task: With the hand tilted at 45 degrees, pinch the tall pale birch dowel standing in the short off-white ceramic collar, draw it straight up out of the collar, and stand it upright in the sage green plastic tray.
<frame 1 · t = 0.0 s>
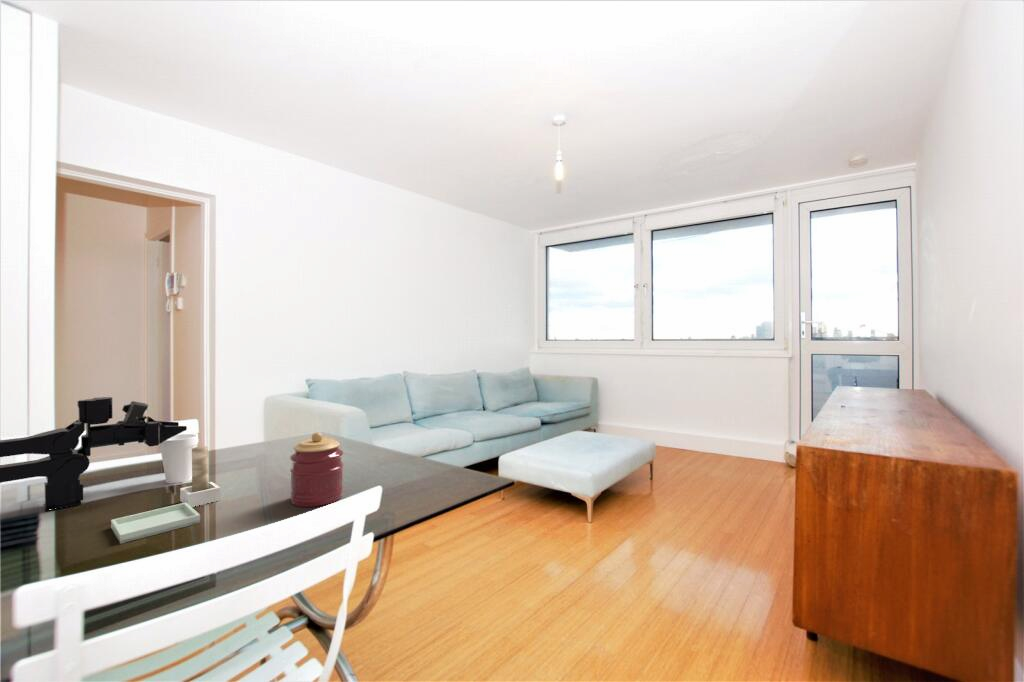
hand: (182, 425, 133), 17 cm above the table, tool horizontal, fingers open, 9 cm apart
tray: (156, 525, 102), on the table
foam cup: (179, 480, 134), on the table
canister: (317, 499, 118), on the table
collar: (200, 501, 117), on the table
dowel: (200, 474, 117), in the collar
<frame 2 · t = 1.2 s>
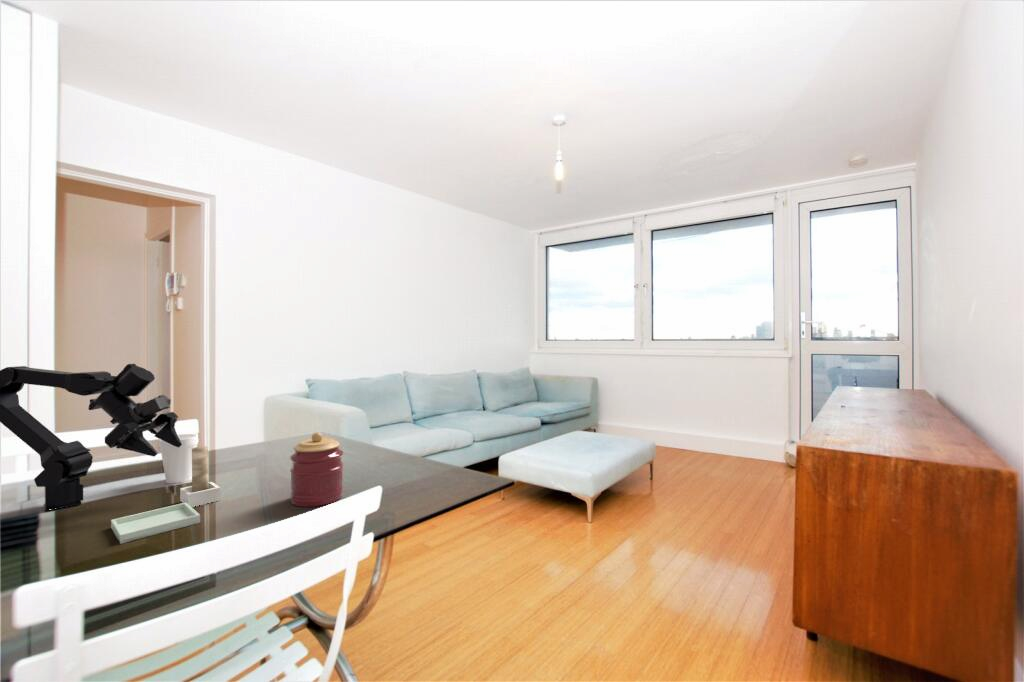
hand: (168, 450, 116), 14 cm above the table, tool tilted 45°, fingers open, 9 cm apart
nothing on the table moved.
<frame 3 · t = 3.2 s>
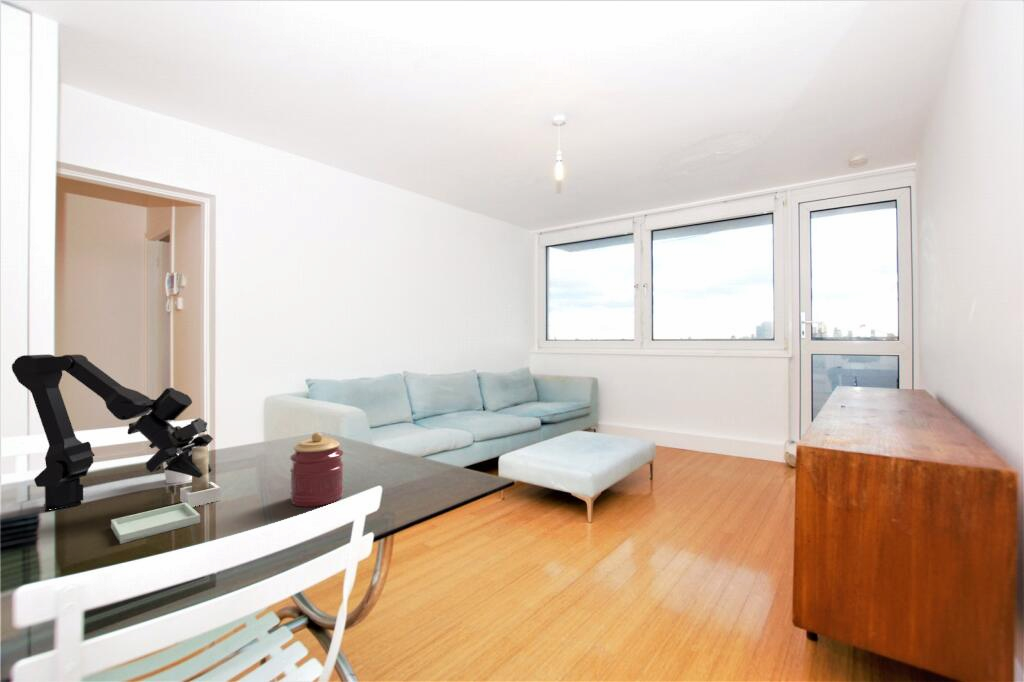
hand: (205, 474, 117), 7 cm above the table, tool tilted 45°, fingers closed on dowel, 3 cm apart
dowel: (200, 474, 117), in the collar, touching gripper
everything else where it was.
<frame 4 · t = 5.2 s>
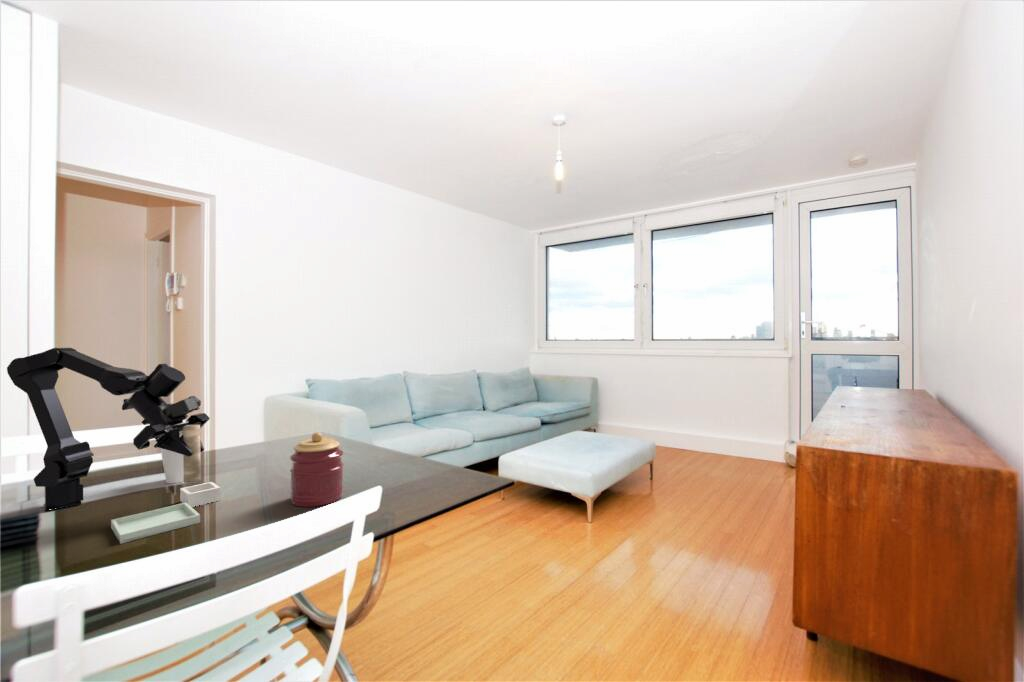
hand: (197, 453, 113), 14 cm above the table, tool tilted 45°, fingers closed on dowel, 3 cm apart
dowel: (191, 453, 113), point 14 cm above the table, touching gripper
everything else where it was.
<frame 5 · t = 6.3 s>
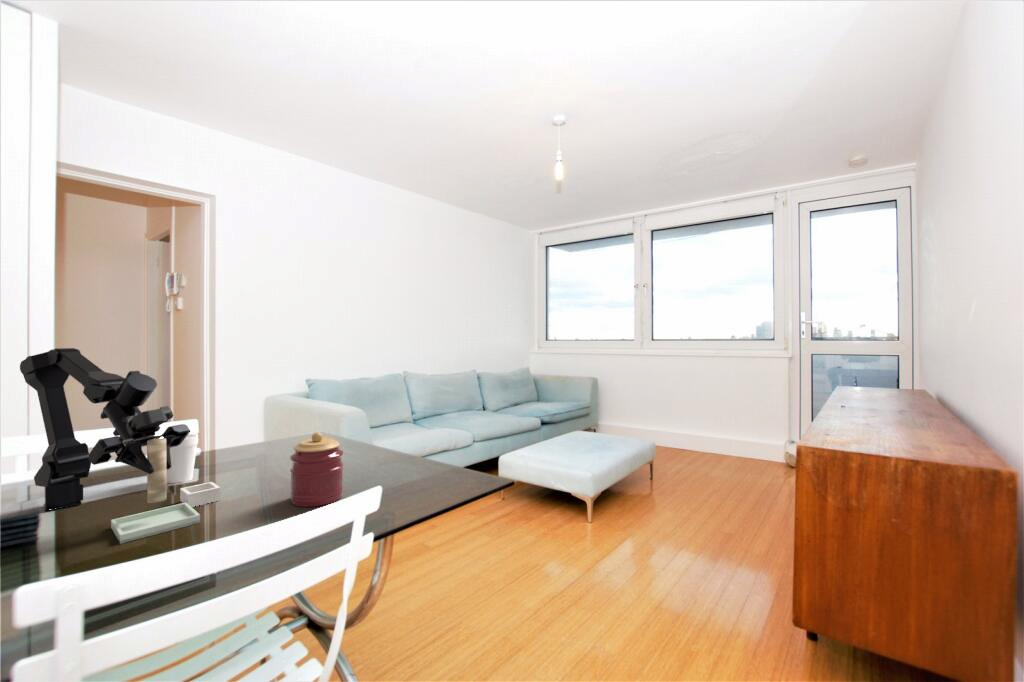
hand: (161, 470, 103), 12 cm above the table, tool tilted 45°, fingers closed on dowel, 3 cm apart
dowel: (157, 470, 103), point 12 cm above the table, touching gripper
everything else where it was.
when the fingers open (9 cm above the table, at t = 7.2 s): dowel drops 1 cm, resting on tray.
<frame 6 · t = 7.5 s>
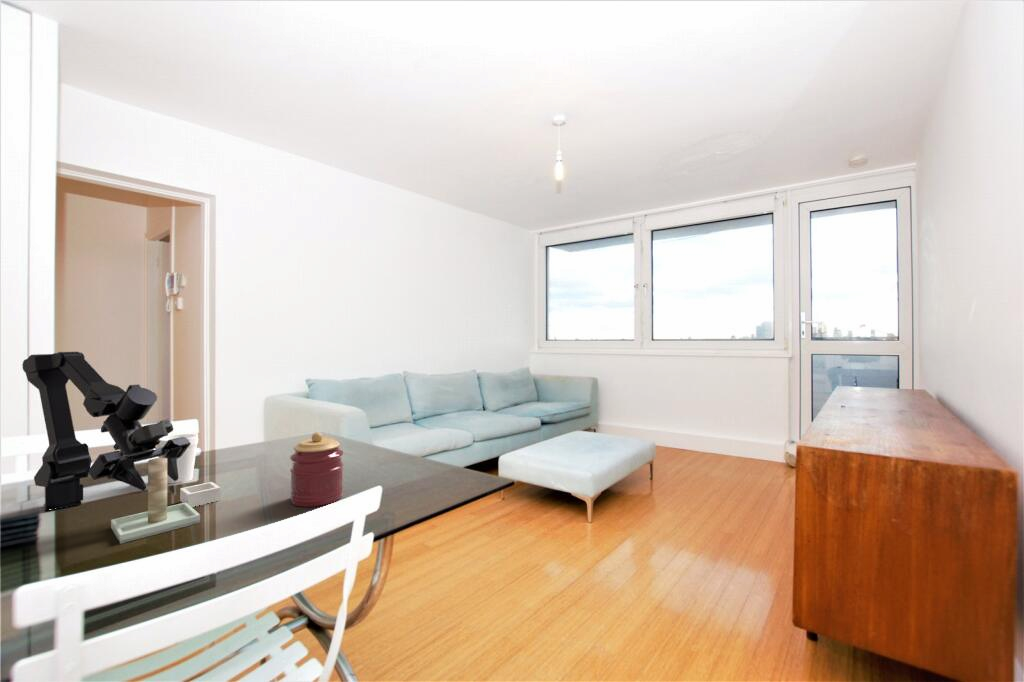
hand: (161, 484, 103), 9 cm above the table, tool tilted 45°, fingers open, 7 cm apart
dowel: (157, 489, 103), in the tray, point 8 cm above the table
everything else where it was.
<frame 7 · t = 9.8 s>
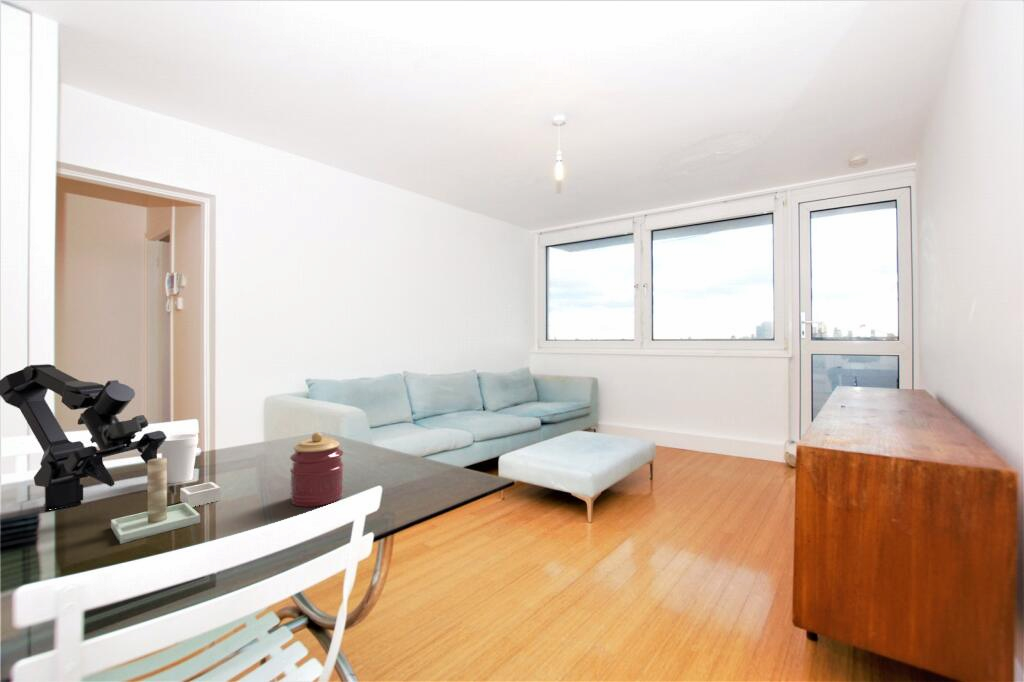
hand: (135, 478, 106), 9 cm above the table, tool tilted 40°, fingers open, 9 cm apart
nothing on the table moved.
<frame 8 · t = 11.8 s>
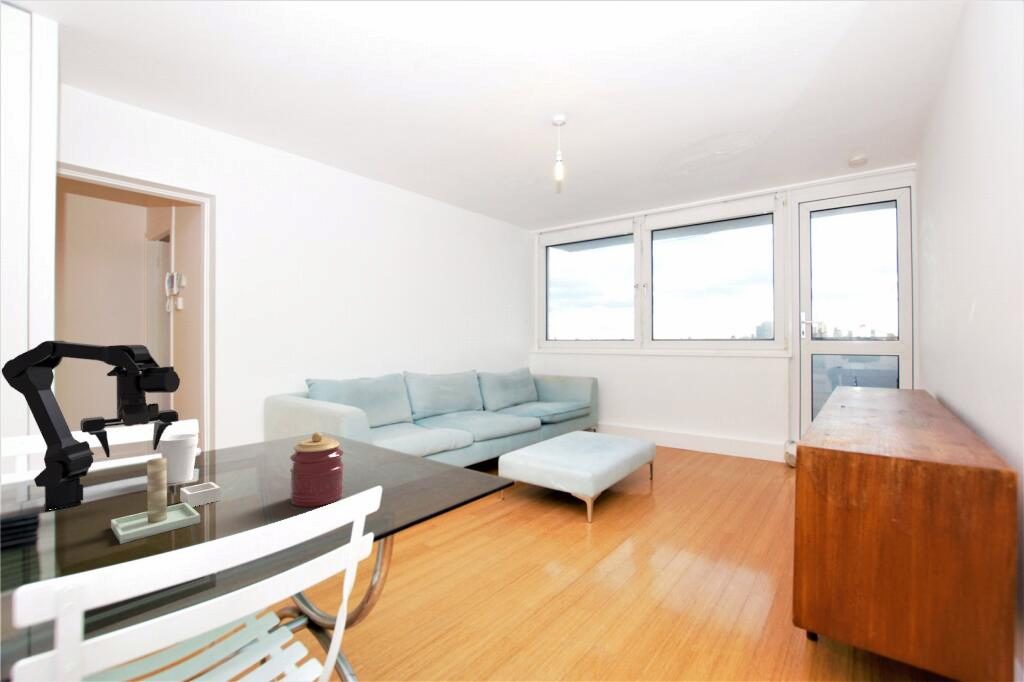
hand: (132, 453, 115), 13 cm above the table, tool pointing down, fingers open, 9 cm apart
nothing on the table moved.
at the end: dowel inside the target area on the tray (1.6 cm from its centre), point 7.6 cm above the tray's base; dowel tilted 0°; the gripper is holding nothing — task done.
